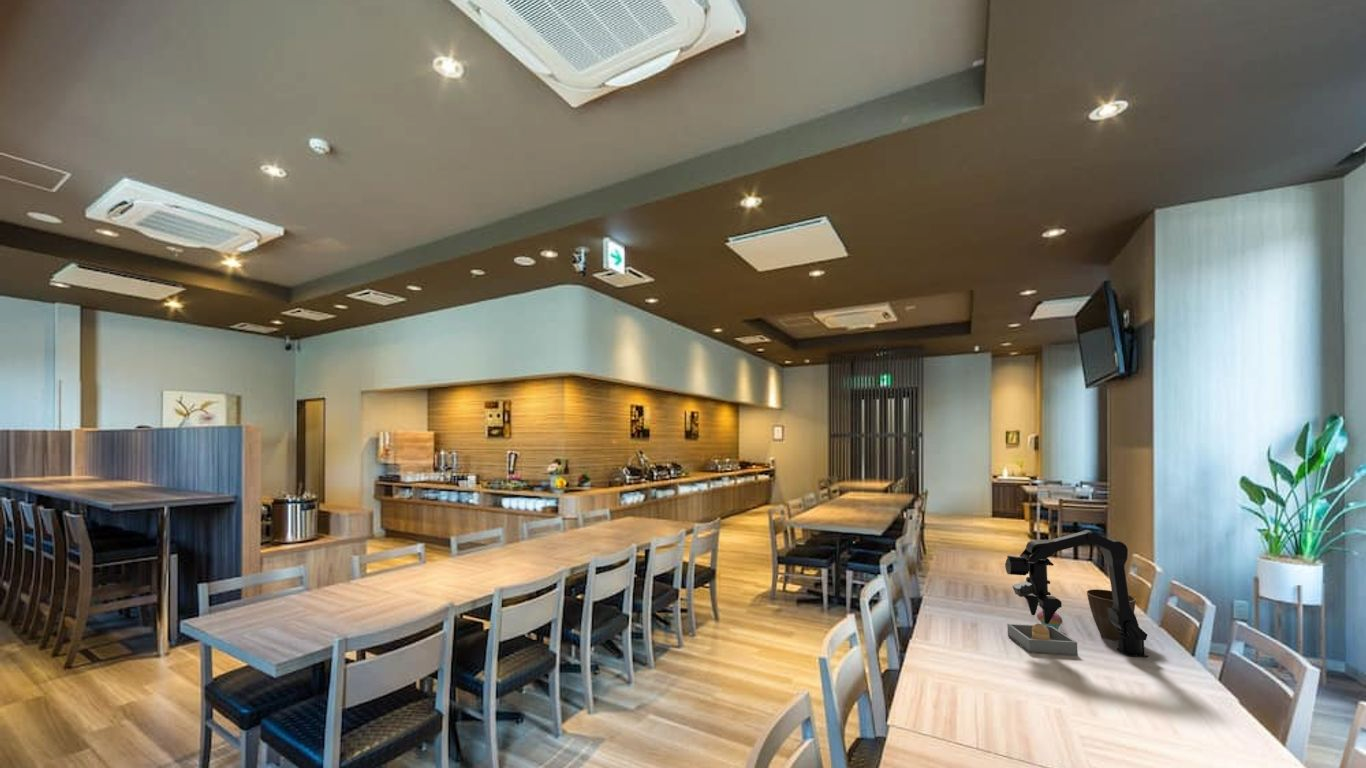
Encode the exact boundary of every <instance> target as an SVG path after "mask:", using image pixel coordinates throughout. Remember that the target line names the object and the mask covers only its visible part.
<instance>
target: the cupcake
mask: <svg viewBox="0 0 1366 768" xmlns="http://www.w3.org/2000/svg"><path fill="white" fill-rule="evenodd" d="M1036 618H1037V620H1038V621H1039V622H1040V624H1042V625H1044V626H1052V627H1054V628H1055V629H1057V630H1059V628H1060V626H1061V625H1062V624H1063V618H1062V616H1061V615H1059V614H1058V613H1057V612H1055V613H1054V615H1053V617H1052V619H1051V620H1050V622H1049V624H1045V622H1044V617H1043V611H1040V612H1037V613H1036Z"/></svg>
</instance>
